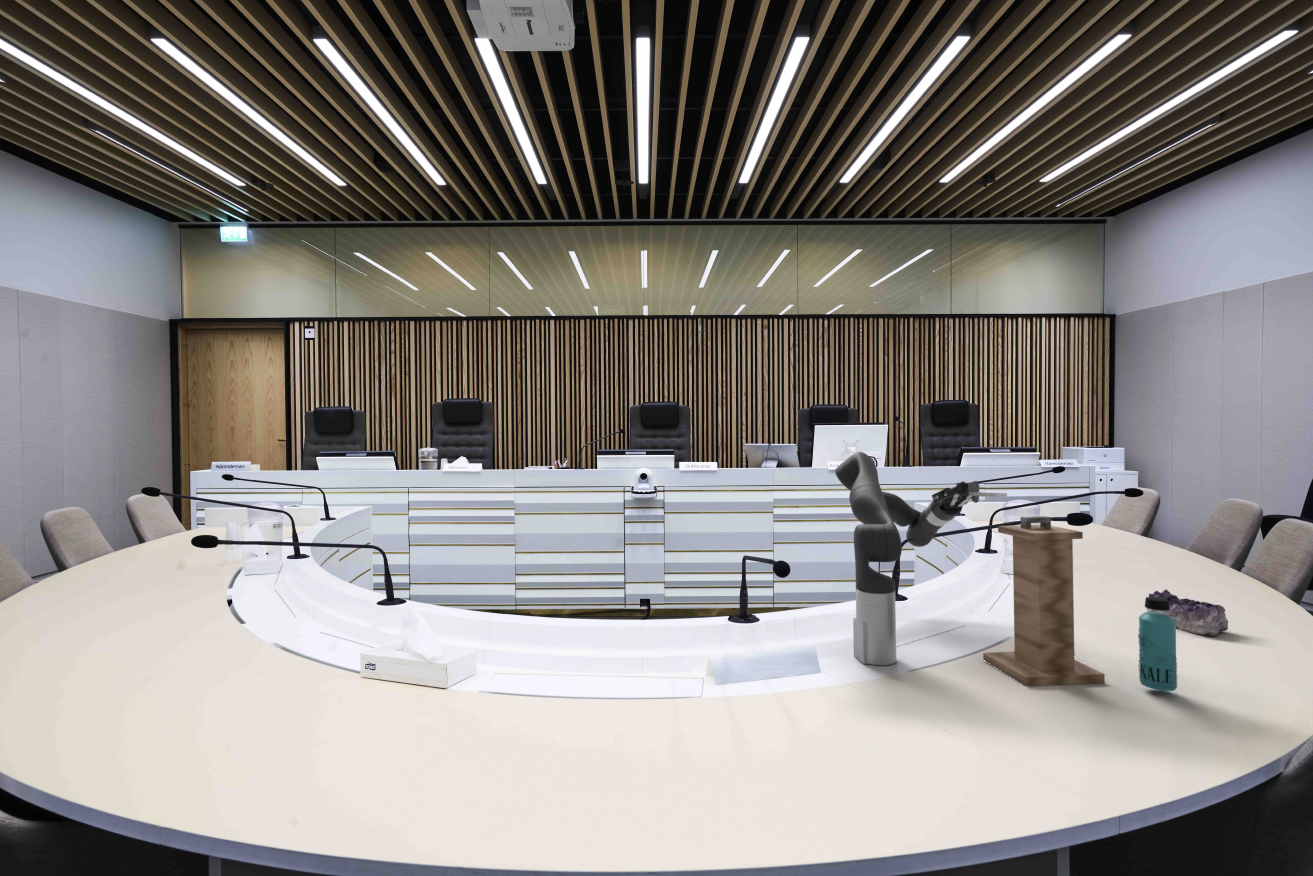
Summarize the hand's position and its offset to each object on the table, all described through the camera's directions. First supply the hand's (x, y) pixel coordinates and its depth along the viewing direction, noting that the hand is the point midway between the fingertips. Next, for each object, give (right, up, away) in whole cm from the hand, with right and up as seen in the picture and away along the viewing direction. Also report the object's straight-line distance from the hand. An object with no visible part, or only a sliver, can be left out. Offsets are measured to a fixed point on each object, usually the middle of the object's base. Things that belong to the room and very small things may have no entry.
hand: (970, 484), depth 174 cm
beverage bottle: (+20, -41, -40) cm, 61 cm away
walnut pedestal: (+3, -41, -28) cm, 50 cm away
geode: (+62, -41, +5) cm, 75 cm away
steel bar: (0, -3, -6) cm, 6 cm away
